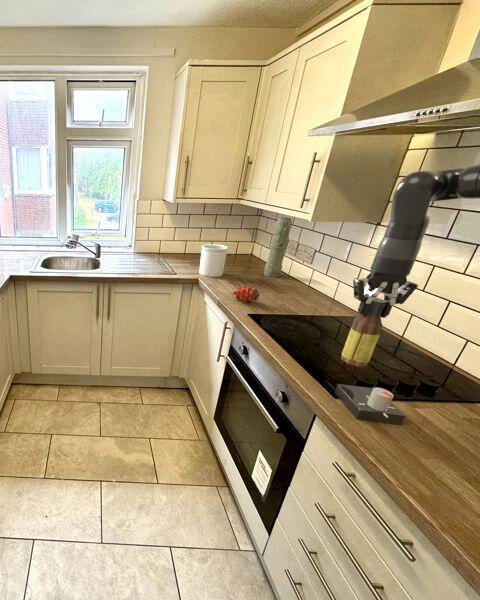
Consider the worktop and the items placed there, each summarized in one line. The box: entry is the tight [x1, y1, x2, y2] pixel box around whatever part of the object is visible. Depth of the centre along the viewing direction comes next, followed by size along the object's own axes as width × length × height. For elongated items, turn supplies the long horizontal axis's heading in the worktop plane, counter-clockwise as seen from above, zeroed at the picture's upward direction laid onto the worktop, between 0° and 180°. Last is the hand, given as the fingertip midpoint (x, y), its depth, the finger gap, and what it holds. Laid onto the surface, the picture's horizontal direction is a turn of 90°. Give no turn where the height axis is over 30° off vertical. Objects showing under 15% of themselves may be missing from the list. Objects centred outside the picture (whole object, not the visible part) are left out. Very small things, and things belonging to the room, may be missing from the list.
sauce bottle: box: [341, 297, 387, 368], centre depth 89 cm, size 7×6×20 cm
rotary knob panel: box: [334, 383, 406, 426], centre depth 85 cm, size 10×13×3 cm
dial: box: [367, 386, 394, 412], centre depth 82 cm, size 4×4×5 cm
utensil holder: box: [198, 243, 229, 278], centre depth 195 cm, size 15×15×18 cm
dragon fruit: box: [232, 285, 260, 304], centre depth 155 cm, size 8×8×12 cm
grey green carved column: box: [263, 216, 293, 279], centre depth 189 cm, size 9×12×35 cm
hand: (371, 315), depth 87 cm, fingers closed on sauce bottle, 4 cm apart
